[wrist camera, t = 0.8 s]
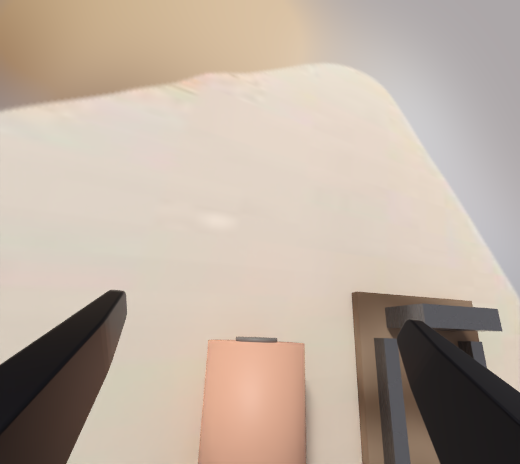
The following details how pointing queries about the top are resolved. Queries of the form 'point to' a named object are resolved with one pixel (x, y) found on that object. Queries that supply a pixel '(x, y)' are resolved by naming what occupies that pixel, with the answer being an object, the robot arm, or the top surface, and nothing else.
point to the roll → (254, 402)
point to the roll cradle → (393, 373)
